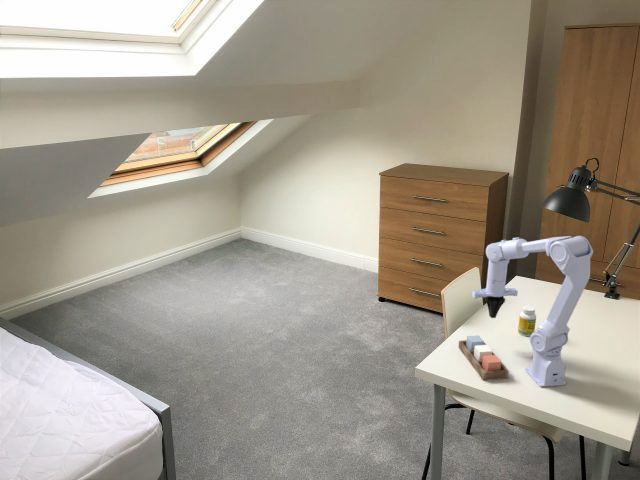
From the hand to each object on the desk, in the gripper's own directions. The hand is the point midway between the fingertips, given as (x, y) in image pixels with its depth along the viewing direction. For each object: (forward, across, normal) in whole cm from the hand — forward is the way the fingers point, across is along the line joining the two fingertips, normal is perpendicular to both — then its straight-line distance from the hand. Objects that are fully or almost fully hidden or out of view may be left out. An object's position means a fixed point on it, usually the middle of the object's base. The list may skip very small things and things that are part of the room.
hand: (492, 316), depth 174 cm
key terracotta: (+9, +7, +16) cm, 20 cm away
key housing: (+10, +7, +10) cm, 16 cm away
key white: (+9, +7, +10) cm, 15 cm away
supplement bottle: (+11, -16, -6) cm, 20 cm away
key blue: (+9, +7, +4) cm, 12 cm away
